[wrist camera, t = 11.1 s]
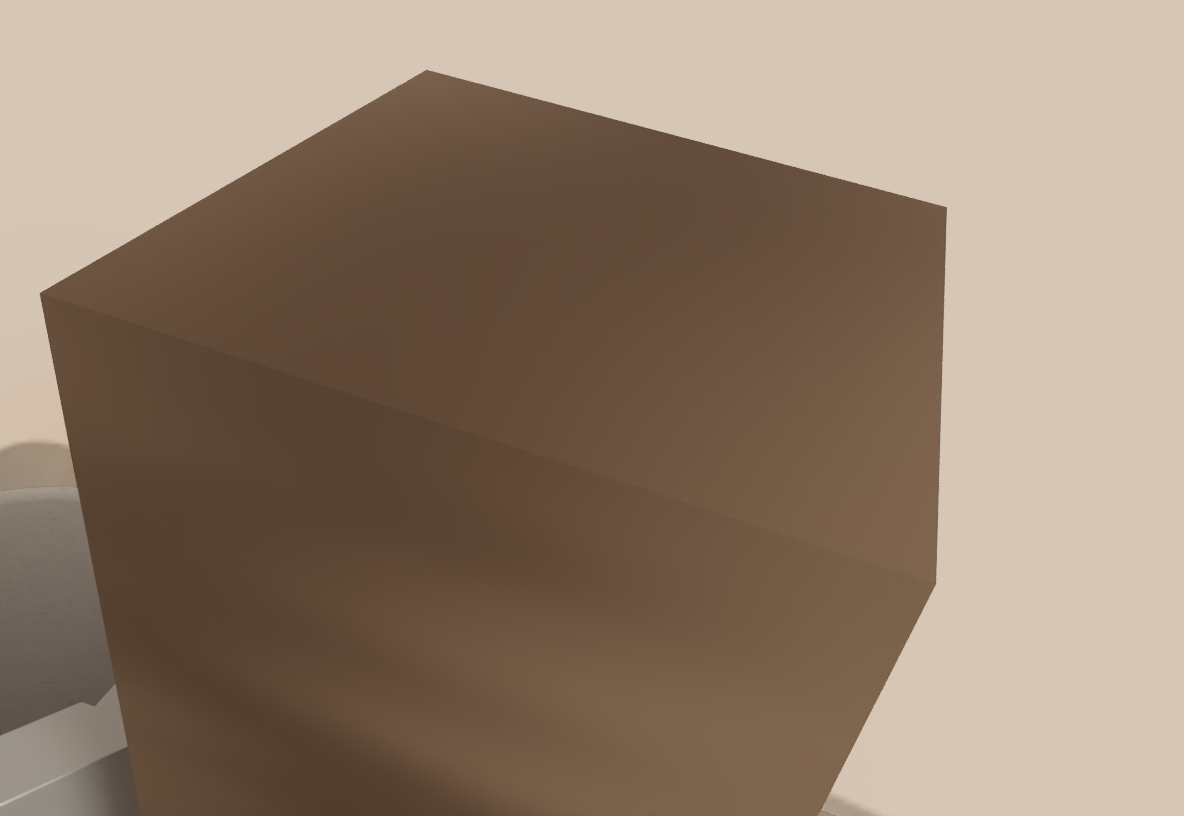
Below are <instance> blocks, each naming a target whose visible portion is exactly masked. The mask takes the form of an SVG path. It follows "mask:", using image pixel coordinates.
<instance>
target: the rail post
mask: <svg viewBox="0 0 1184 816" xmlns="http://www.w3.org/2000/svg"><path fill="white" fill-rule="evenodd" d="M946 212H947V208H946V207H943V206H939V205H935V204H932V203H928V202H924V201H921V200H917V199H913V198H909V197H906V196H902V195H898V194H894V193H890V192H886V191H883V190H879V189H875V188H872V187H868V186H864V185H860V184H856V183H853V182H848V181H845V180H841V179H837V178H834V177H830V176H826V175H822V174H819V173H815V172H811V171H807V170H803V169H799V168H796V167H792V166H788V165H784V164H781V163H777V162H773V161H769V160H765V159H762V158H758V157H754V156H750V155H747V154H742V153H739V152H735V151H731V150H728V149H724V148H720V147H716V146H713V145H708V144H705V143H701V142H697V141H693V140H690V139H686V138H682V137H678V136H675V135H671V134H667V133H663V132H659V131H656V130H652V129H648V128H644V127H640V126H637V125H633V124H629V123H625V122H622V121H618V120H614V119H610V118H607V117H603V116H599V115H595V114H591V113H587V112H584V111H580V110H576V109H572V108H569V107H564V106H561V105H557V104H554V103H549V102H546V101H542V100H538V99H534V98H531V97H527V96H523V95H519V94H516V93H512V92H508V91H504V90H501V89H497V88H493V87H489V86H485V85H482V84H478V83H474V82H470V81H466V80H462V79H459V78H455V77H451V76H448V75H443V74H440V73H436V72H432V71H428V70H426V71H424V72H422V73H421V74H419V75H417V76H415V77H414V78H412V79H410V80H408V81H407V82H405V83H403V84H402V85H400V86H398V87H396V88H395V89H393V90H391V91H389V92H388V93H386V94H384V95H382V96H381V97H379V98H377V99H376V100H374V101H372V102H371V103H369V104H367V105H365V106H363V107H362V108H360V109H358V110H356V111H355V112H353V113H351V114H350V115H348V116H346V117H344V118H343V119H341V120H339V121H337V122H336V123H334V124H332V125H331V126H329V127H327V128H325V129H324V130H322V131H320V132H318V133H317V134H315V135H313V136H311V137H310V138H308V139H306V140H304V141H303V142H301V143H299V144H298V145H296V146H294V147H292V148H291V149H289V150H287V151H285V152H284V153H282V154H280V155H278V156H277V157H275V158H274V159H272V160H270V161H268V162H266V163H265V164H263V165H261V166H259V167H258V168H256V169H254V170H253V171H251V172H249V173H247V174H246V175H244V176H242V177H240V178H239V179H237V180H235V181H234V182H232V183H230V184H228V185H226V186H225V187H223V188H221V189H220V190H218V191H216V192H215V193H213V194H211V195H209V196H208V197H206V198H204V199H202V200H201V201H199V202H197V203H195V204H194V205H192V206H190V207H188V208H187V209H185V210H183V211H181V212H180V213H178V214H176V215H174V216H173V217H171V218H169V219H168V220H166V221H164V222H162V223H161V224H159V225H157V226H155V227H154V228H152V229H150V230H148V231H147V232H145V233H143V234H142V235H140V236H138V237H136V238H135V239H133V240H131V241H129V242H128V243H126V244H124V245H123V246H121V247H119V248H117V249H116V250H114V251H112V252H110V253H109V254H107V255H105V256H103V257H102V258H100V259H98V260H96V261H95V262H93V263H92V264H90V265H88V266H86V267H84V268H83V269H81V270H79V271H77V272H76V273H74V274H72V275H71V276H69V277H67V278H65V279H64V280H62V281H60V282H58V283H57V284H55V285H53V286H51V287H50V288H48V289H46V290H45V291H43V292H41V293H40V297H41V302H42V306H43V312H44V317H45V322H46V328H47V333H48V338H49V343H50V348H51V353H52V359H53V364H54V369H55V374H56V379H57V384H58V389H59V395H60V400H61V405H62V410H63V415H64V421H65V426H66V431H67V436H68V441H69V446H70V452H71V457H72V462H73V467H74V472H75V477H76V483H77V488H78V493H79V498H80V503H81V508H82V513H83V519H84V524H85V529H86V534H87V539H88V544H89V550H90V555H91V560H92V565H93V570H94V575H95V581H96V586H97V591H98V596H99V601H100V606H101V612H102V617H103V622H104V627H105V632H106V637H107V643H108V648H109V653H110V658H111V663H112V668H113V673H114V679H115V684H116V689H117V694H118V699H119V704H120V710H121V715H122V720H123V725H124V730H125V735H126V741H127V746H128V751H129V756H130V761H131V766H132V772H133V777H134V782H135V787H136V792H137V797H138V802H139V808H140V813H141V816H818V814H819V812H820V810H821V808H822V806H823V805H824V803H825V801H826V799H827V797H828V795H829V793H830V791H831V789H832V787H833V785H834V783H835V781H836V779H837V777H838V775H839V773H840V771H841V769H842V767H843V765H844V763H845V761H846V759H847V757H848V755H849V754H850V752H851V749H852V748H853V746H854V744H855V742H856V740H857V738H858V736H859V734H860V732H861V730H862V728H863V726H864V724H865V722H866V720H867V718H868V716H869V714H870V712H871V710H872V708H873V706H874V704H875V703H876V701H877V699H878V697H879V695H880V693H881V691H882V689H883V687H884V685H885V683H886V681H887V679H888V677H889V675H890V673H891V671H892V669H893V667H894V665H895V663H896V661H897V659H898V657H899V655H900V653H901V652H902V650H903V647H904V646H905V644H906V641H907V640H908V638H909V636H910V634H911V632H912V630H913V628H914V626H915V624H916V622H917V620H918V618H919V616H920V614H921V612H922V610H923V608H924V606H925V604H926V602H927V600H928V598H929V596H930V595H931V592H932V591H933V589H934V587H935V585H936V563H937V529H938V494H939V459H940V423H941V390H942V354H943V319H944V284H945V283H944V282H945V250H946V248H945V247H946V215H947V213H946Z"/></svg>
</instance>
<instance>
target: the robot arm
mask: <svg viewBox="0 0 1184 816" xmlns="http://www.w3.org/2000/svg"><path fill="white" fill-rule="evenodd" d="M0 816H141V813H140V808H139V802H138V797H137V792H136V787H135V782H134V777H133V772H132V766H131V761H130V756H129V751H128V746H127V741H126V735H125V730H124V725H123V720H122V715H121V710H120V704H119V699H118V694H117V689H116V684H115V685H114V686H113V687H112V688H111V689H110V691H109V692H108V693H107V694H106V695H105V696H104V697H103V698H102V699H101V700H100V701H99V702H98V704H97V705H96V706H92V705H89V704H86V703H83V702H80V703H78V704H75V705H73V706H70V707H68V708H66V709H63V710H61V711H58V712H56V713H54V714H51V715H49V716H46V717H44V718H41V719H39V720H37V721H34V722H32V723H29V724H27V725H25V726H22V727H20V728H17V729H15V730H13V731H10V732H8V733H5V734H3V735H1V736H0ZM818 816H835V815H832V814H830V813H827V812H824V811H821V810H820V812H819V814H818Z"/></svg>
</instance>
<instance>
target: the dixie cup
mask: <svg viewBox="0 0 1184 816" xmlns="http://www.w3.org/2000/svg"><path fill="white" fill-rule="evenodd" d="M114 685H115V679H114V673H113V668H112V663H111V658H110V653H109V648H108V643H107V637H106V632H105V627H104V622H103V617H102V612H101V606H100V601H99V596H98V591H97V586H96V581H95V575H94V570H93V565H92V560H91V555H90V550H89V544H88V539H87V534H86V529H85V524H84V519H83V513H82V508H81V503H80V498H79V493H78V488H77V487H31V488H20V489H12V490H4V491H0V736H1V735H3V734H5V733H8V732H10V731H13V730H15V729H17V728H20V727H22V726H25V725H27V724H29V723H32V722H34V721H37V720H39V719H41V718H44V717H46V716H49V715H51V714H54V713H56V712H58V711H61V710H63V709H66V708H68V707H70V706H73V705H75V704H78V703H80V702H83V703H86V704H89V705H92V706H96V705H97V704H98V702H99V701H100V700H101V699H102V698H103V697H104V696H105V695H106V694H107V693H108V692H109V691H110V689H111V688H112V687H113V686H114Z"/></svg>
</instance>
